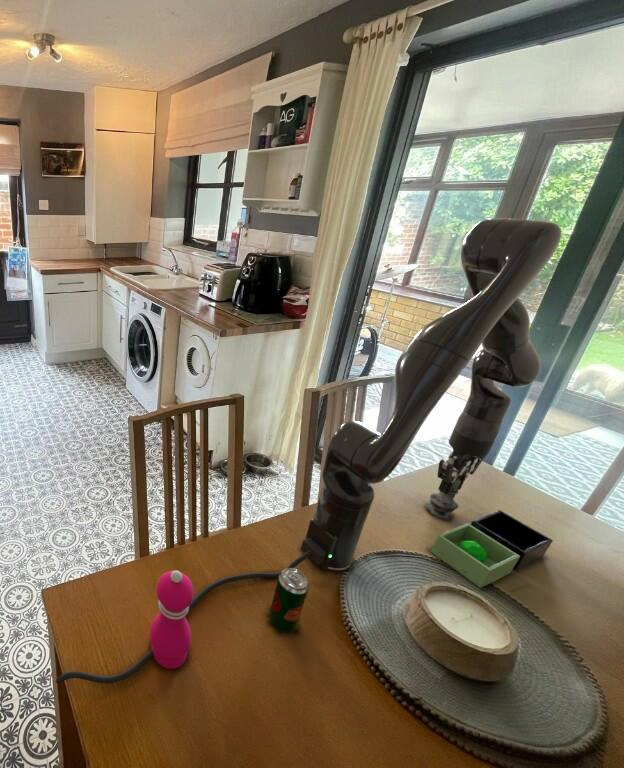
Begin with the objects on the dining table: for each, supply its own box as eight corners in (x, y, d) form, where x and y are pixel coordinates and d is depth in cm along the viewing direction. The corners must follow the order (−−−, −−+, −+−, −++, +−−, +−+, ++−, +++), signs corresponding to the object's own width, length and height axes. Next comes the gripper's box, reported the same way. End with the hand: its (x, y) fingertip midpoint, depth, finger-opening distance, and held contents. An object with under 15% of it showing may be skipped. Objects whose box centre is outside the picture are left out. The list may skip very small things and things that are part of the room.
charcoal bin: (515, 570, 89) (525, 553, 87) (464, 537, 98) (472, 520, 95) (542, 556, 92) (553, 540, 90) (491, 525, 101) (499, 509, 99)
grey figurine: (458, 521, 102) (476, 483, 97) (431, 518, 103) (448, 480, 98) (445, 505, 107) (462, 468, 102) (420, 502, 108) (436, 465, 103)
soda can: (283, 639, 75) (296, 595, 70) (262, 616, 79) (273, 572, 74) (302, 627, 77) (316, 583, 72) (281, 605, 81) (292, 562, 76)
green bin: (480, 588, 85) (490, 570, 83) (430, 551, 94) (438, 535, 91) (510, 573, 88) (520, 556, 86) (459, 539, 97) (467, 523, 95)
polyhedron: (485, 572, 88) (494, 556, 86) (457, 565, 89) (466, 549, 87) (476, 555, 92) (485, 539, 90) (450, 548, 94) (458, 533, 92)
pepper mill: (179, 680, 69) (189, 601, 60) (141, 657, 72) (145, 578, 64) (195, 644, 74) (206, 566, 66) (159, 624, 78) (165, 547, 69)
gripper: (476, 418, 100) (451, 474, 108) (438, 429, 96) (414, 487, 103) (513, 433, 94) (483, 492, 101) (473, 446, 89) (445, 507, 97)
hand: (448, 489), depth 102 cm, fingers closed on grey figurine, 3 cm apart
